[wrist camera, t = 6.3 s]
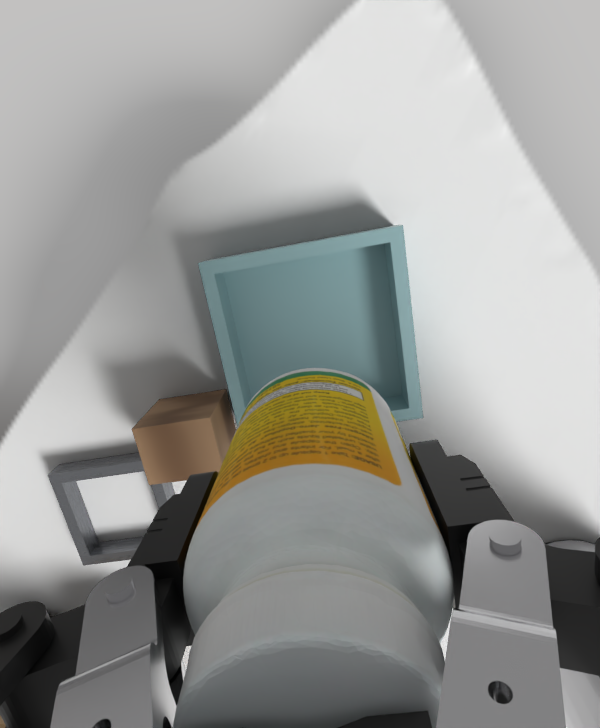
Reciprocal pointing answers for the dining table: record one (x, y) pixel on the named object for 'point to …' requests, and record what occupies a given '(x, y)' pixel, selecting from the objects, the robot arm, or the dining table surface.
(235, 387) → the tray
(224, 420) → the block
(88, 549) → the square frame
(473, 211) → the dining table surface
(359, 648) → the supplement bottle
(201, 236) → the dining table surface
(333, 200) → the dining table surface
